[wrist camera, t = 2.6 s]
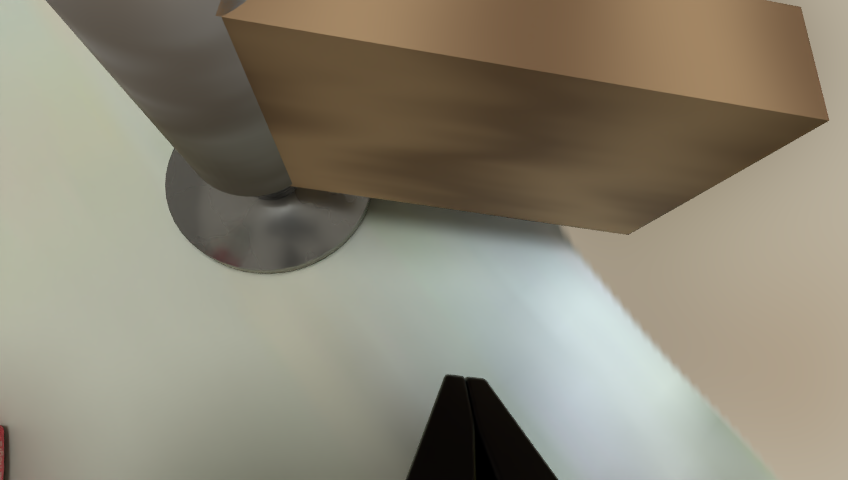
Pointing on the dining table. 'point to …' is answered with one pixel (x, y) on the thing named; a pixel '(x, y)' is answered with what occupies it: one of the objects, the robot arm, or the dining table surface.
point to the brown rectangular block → (466, 97)
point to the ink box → (1, 452)
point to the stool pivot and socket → (260, 222)
